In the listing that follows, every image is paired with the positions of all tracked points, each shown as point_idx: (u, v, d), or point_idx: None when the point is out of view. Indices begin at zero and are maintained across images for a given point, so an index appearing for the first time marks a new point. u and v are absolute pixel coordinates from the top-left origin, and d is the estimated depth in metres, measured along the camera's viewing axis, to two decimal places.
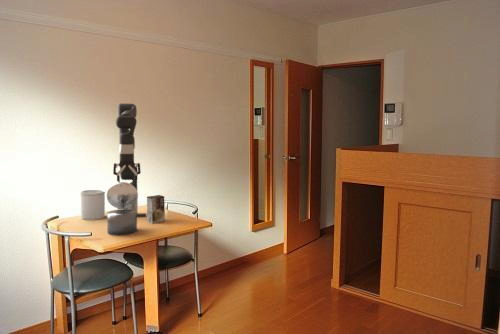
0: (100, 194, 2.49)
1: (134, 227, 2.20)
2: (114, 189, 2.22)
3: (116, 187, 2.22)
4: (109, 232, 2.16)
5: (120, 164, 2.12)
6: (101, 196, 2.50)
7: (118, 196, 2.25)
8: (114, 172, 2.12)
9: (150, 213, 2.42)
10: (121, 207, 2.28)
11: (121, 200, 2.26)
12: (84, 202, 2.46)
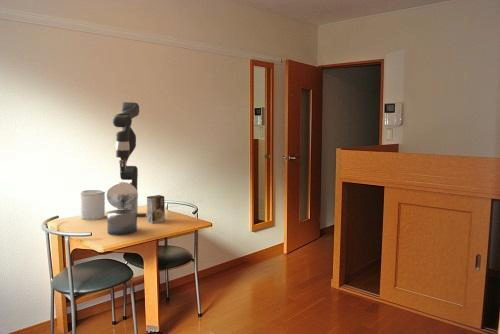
0: (100, 194, 2.49)
1: (134, 227, 2.20)
2: (114, 189, 2.22)
3: (116, 187, 2.22)
4: (109, 232, 2.16)
5: None
6: (101, 196, 2.50)
7: (118, 196, 2.25)
8: (124, 169, 2.31)
9: (150, 213, 2.42)
10: (121, 207, 2.28)
11: (121, 200, 2.26)
12: (84, 202, 2.46)
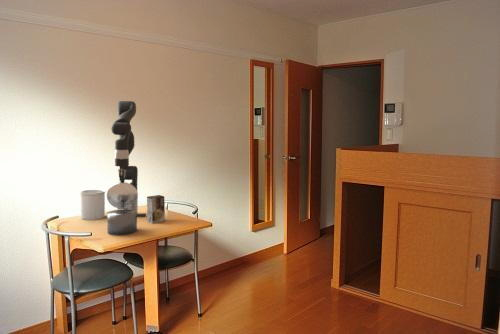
0: (100, 194, 2.49)
1: (134, 227, 2.20)
2: (114, 189, 2.22)
3: (116, 187, 2.22)
4: (109, 232, 2.16)
5: (123, 169, 2.21)
6: (101, 196, 2.50)
7: (118, 196, 2.25)
8: (124, 179, 2.22)
9: (150, 213, 2.42)
10: (121, 207, 2.28)
11: (121, 200, 2.26)
12: (84, 202, 2.46)
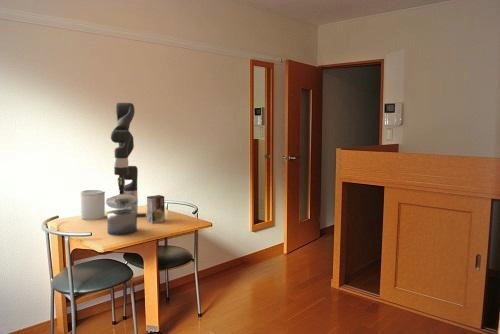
0: (100, 194, 2.49)
1: (134, 227, 2.20)
2: (114, 199, 2.18)
3: (115, 198, 2.17)
4: (109, 232, 2.16)
5: (123, 178, 2.16)
6: (101, 196, 2.50)
7: (118, 202, 2.22)
8: (123, 188, 2.17)
9: (150, 213, 2.42)
10: (121, 208, 2.28)
11: (121, 204, 2.24)
12: (84, 202, 2.46)
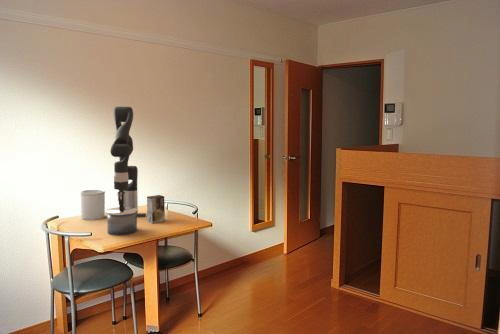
0: (100, 194, 2.49)
1: (134, 227, 2.20)
2: None
3: None
4: (109, 232, 2.16)
5: (123, 193, 2.13)
6: (101, 196, 2.50)
7: None
8: (123, 202, 2.14)
9: (150, 213, 2.42)
10: None
11: None
12: (84, 202, 2.46)
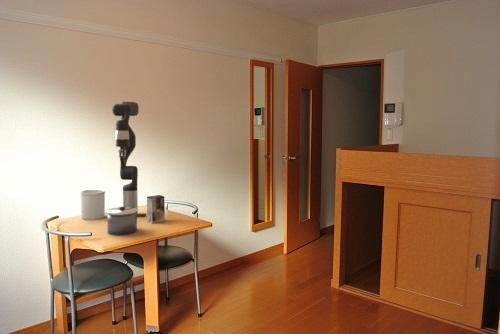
0: (100, 194, 2.49)
1: (134, 227, 2.20)
2: None
3: None
4: (109, 232, 2.16)
5: (124, 150, 2.26)
6: (101, 196, 2.50)
7: None
8: (124, 159, 2.27)
9: (150, 213, 2.42)
10: None
11: None
12: (84, 202, 2.46)
